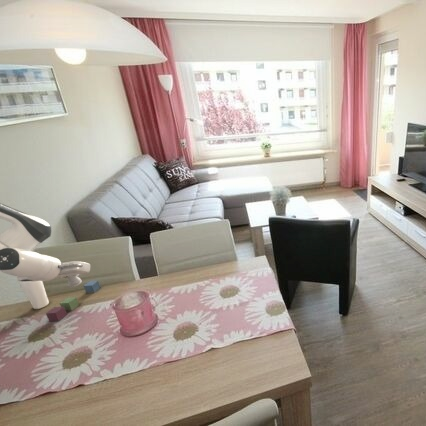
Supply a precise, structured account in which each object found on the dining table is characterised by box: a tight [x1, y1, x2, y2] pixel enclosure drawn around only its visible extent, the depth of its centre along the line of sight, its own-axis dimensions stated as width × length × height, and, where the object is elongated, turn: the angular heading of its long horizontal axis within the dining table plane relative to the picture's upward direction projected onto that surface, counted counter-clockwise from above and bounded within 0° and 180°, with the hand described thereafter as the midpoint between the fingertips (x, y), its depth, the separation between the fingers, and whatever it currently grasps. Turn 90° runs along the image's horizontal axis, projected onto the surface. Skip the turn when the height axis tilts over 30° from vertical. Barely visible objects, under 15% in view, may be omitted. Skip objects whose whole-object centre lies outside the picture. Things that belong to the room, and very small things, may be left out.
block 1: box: [45, 306, 68, 322], centre depth 120 cm, size 4×4×4 cm
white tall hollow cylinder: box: [17, 281, 50, 310], centre depth 127 cm, size 7×7×15 cm
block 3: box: [83, 280, 101, 294], centre depth 138 cm, size 4×4×4 cm
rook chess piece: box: [66, 276, 83, 288], centre depth 118 cm, size 4×4×8 cm
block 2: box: [59, 296, 80, 312], centre depth 126 cm, size 4×4×4 cm
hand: (71, 274), depth 118 cm, fingers closed on rook chess piece, 3 cm apart
